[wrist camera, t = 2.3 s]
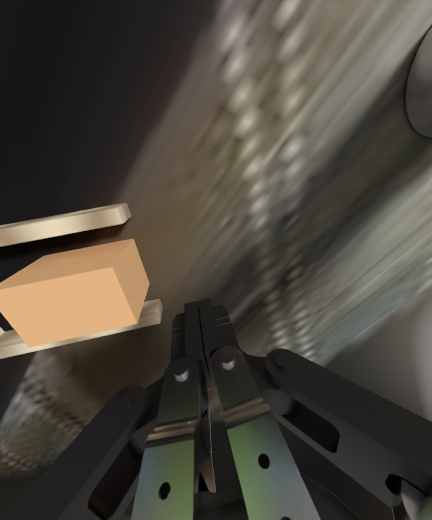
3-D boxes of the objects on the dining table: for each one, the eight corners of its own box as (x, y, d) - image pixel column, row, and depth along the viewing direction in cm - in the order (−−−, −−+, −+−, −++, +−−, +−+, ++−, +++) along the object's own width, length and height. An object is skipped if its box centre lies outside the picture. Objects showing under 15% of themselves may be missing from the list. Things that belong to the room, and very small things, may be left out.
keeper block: (133, 238, 19) (112, 266, 13) (149, 283, 21) (137, 324, 15) (44, 255, 18) (-15, 292, 13) (70, 299, 20) (29, 347, 15)
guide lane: (126, 202, 17) (117, 207, 15) (162, 307, 22) (160, 323, 20) (-74, 239, 16) (-116, 250, 14) (11, 340, 21) (-10, 360, 19)
